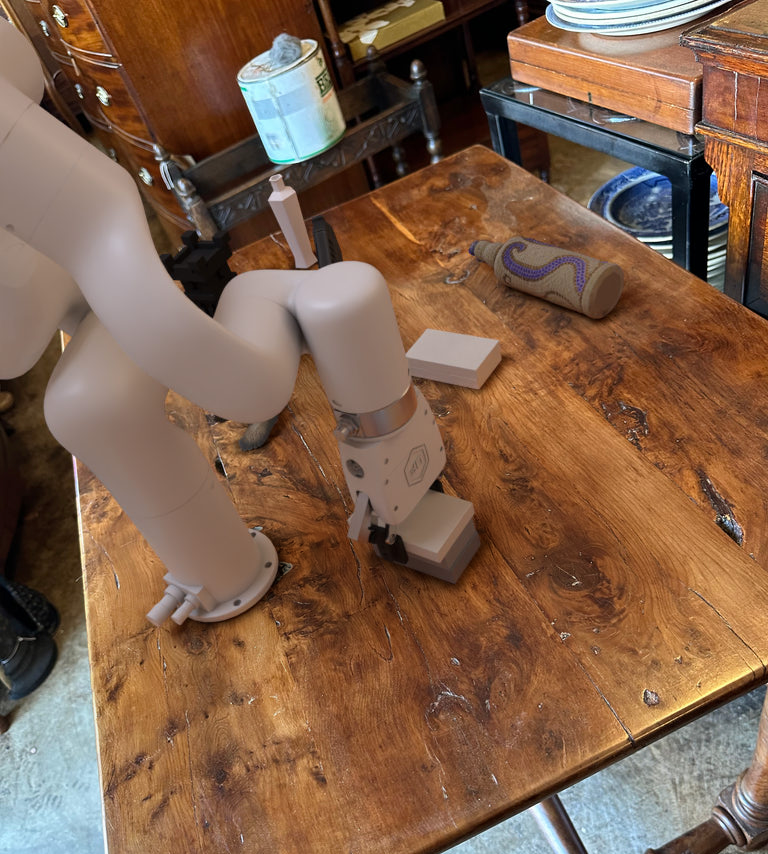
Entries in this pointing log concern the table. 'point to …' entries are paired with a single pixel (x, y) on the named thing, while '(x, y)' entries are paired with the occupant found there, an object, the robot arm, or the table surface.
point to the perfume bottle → (291, 221)
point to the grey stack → (447, 556)
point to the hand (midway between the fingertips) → (414, 530)
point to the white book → (433, 524)
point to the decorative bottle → (554, 274)
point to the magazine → (325, 242)
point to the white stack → (454, 358)
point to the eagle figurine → (253, 432)
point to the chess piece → (202, 268)
